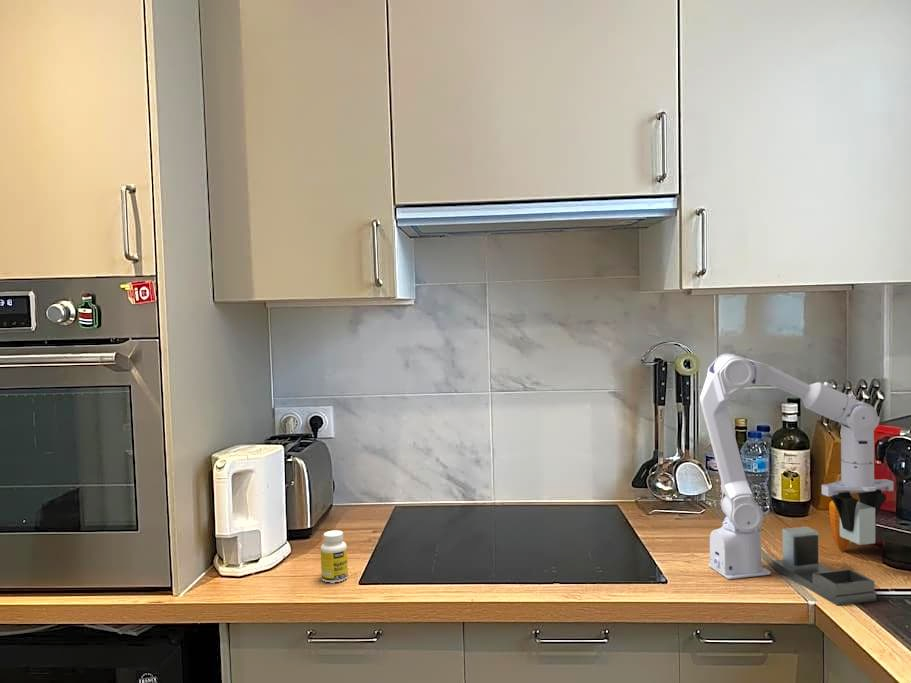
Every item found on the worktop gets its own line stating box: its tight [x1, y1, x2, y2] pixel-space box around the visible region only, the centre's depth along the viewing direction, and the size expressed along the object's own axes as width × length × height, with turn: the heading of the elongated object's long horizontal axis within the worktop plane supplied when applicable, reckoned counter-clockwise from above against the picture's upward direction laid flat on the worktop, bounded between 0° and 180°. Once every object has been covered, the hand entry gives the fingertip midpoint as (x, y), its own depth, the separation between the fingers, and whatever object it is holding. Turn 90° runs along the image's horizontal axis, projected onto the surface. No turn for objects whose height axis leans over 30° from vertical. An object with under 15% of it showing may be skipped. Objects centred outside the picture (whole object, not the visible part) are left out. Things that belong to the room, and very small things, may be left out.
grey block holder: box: [772, 526, 877, 606], centre depth 139 cm, size 8×19×8 cm, turn 10°
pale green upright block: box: [840, 501, 877, 545], centre depth 144 cm, size 4×6×7 cm
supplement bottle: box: [320, 529, 349, 584], centre depth 151 cm, size 5×5×10 cm
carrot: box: [828, 500, 851, 553], centre depth 156 cm, size 5×5×15 cm
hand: (857, 528), depth 144 cm, fingers closed on pale green upright block, 4 cm apart
